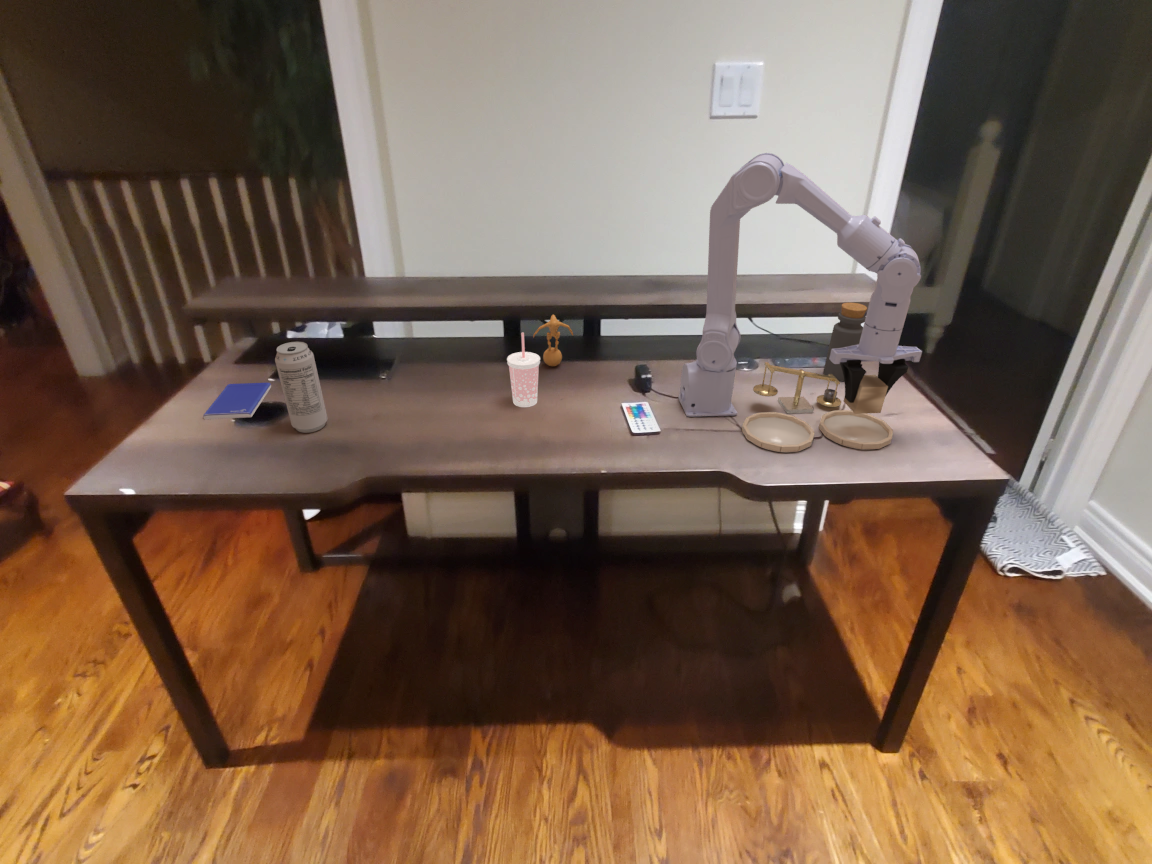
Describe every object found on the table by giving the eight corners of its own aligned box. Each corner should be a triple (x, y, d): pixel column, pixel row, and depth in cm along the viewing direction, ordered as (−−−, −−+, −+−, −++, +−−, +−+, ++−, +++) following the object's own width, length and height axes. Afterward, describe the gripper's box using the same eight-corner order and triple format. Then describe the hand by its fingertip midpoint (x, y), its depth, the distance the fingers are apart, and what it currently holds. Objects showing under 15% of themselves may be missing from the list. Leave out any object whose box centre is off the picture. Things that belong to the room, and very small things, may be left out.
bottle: (854, 382, 130) (873, 312, 122) (824, 380, 131) (840, 310, 123) (850, 370, 135) (867, 302, 127) (821, 368, 136) (836, 300, 128)
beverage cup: (547, 401, 122) (546, 332, 115) (524, 412, 118) (521, 342, 111) (525, 391, 125) (523, 323, 118) (502, 401, 122) (498, 332, 114)
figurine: (570, 360, 138) (570, 307, 132) (574, 372, 133) (575, 317, 127) (532, 362, 137) (530, 309, 131) (535, 374, 132) (533, 319, 126)
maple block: (854, 413, 108) (861, 387, 105) (843, 401, 112) (849, 375, 109) (880, 412, 108) (888, 386, 106) (868, 400, 112) (875, 374, 110)
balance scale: (755, 414, 118) (762, 372, 114) (746, 401, 122) (753, 360, 118) (844, 411, 119) (855, 369, 115) (833, 399, 123) (843, 358, 119)
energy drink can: (331, 416, 116) (314, 339, 109) (325, 432, 111) (307, 353, 103) (296, 418, 115) (276, 341, 108) (289, 435, 110) (268, 355, 103)
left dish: (754, 454, 106) (755, 447, 106) (734, 419, 116) (735, 413, 116) (823, 452, 107) (824, 445, 106) (797, 417, 117) (798, 411, 117)
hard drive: (250, 412, 115) (270, 382, 126) (202, 414, 114) (226, 383, 125) (252, 419, 116) (272, 389, 127) (204, 421, 115) (228, 390, 126)
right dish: (836, 451, 107) (837, 445, 107) (809, 417, 117) (810, 411, 117) (903, 449, 108) (905, 442, 107) (871, 415, 118) (872, 409, 117)
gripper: (850, 335, 98) (832, 412, 105) (940, 333, 99) (916, 409, 106) (831, 318, 104) (815, 392, 111) (917, 317, 105) (895, 390, 112)
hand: (863, 399), depth 109 cm, fingers closed on maple block, 4 cm apart
